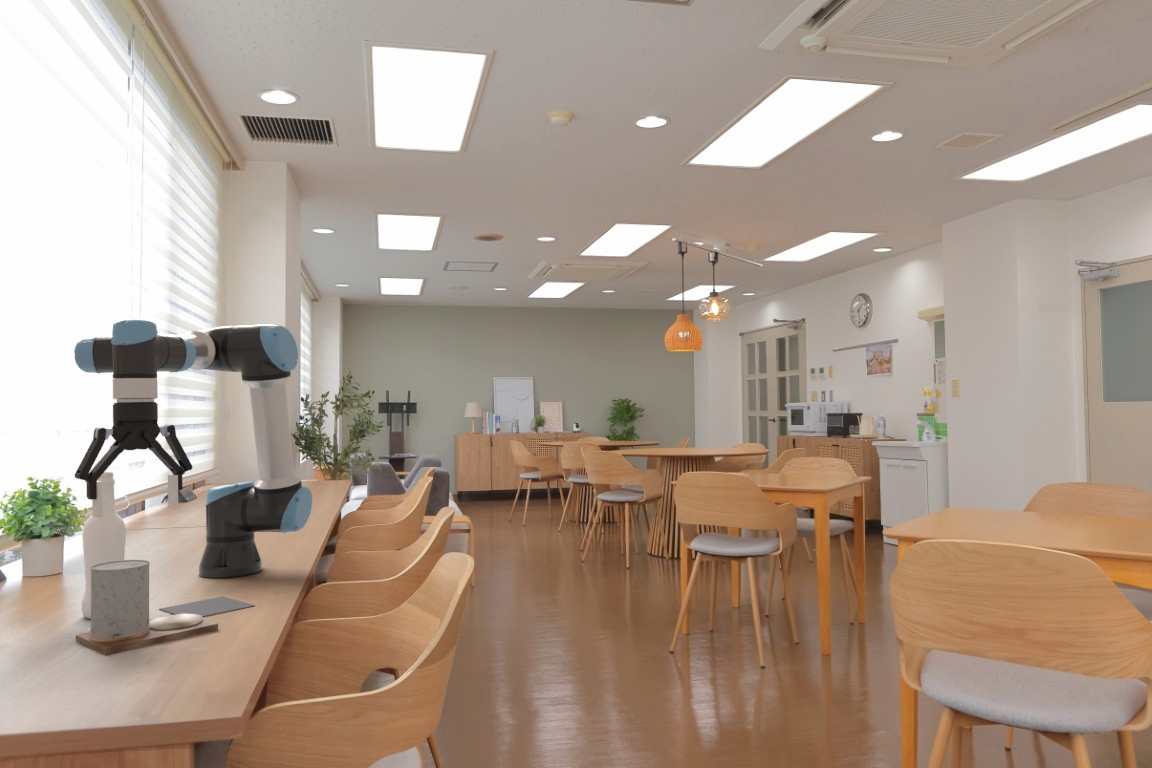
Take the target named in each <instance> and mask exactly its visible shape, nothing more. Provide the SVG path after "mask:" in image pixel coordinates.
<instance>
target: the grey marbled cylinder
mask: <svg viewBox="0 0 1152 768" xmlns="http://www.w3.org/2000/svg"><path fill="white" fill-rule="evenodd" d="M150 564H151V563H150V561H149V560H145V559H130V560H129V559H126V560H125V559H124V560H123V561H113V562H106V563H101V564H97V565H94V566H92V567H91V619H90V632H91V634H90V636H91V637H92V638H95V639H116V638H124V637H129V636H134V635H138V634H141V633H144V632H146V631H147V630H149V628H150V627H149V620H150Z"/></svg>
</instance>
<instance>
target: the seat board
mask: <svg viewBox="0 0 1152 768" xmlns="http://www.w3.org/2000/svg"><path fill="white" fill-rule="evenodd" d="M149 627H150V628H149V630H147V631H146V632H144V633H141V634H138V635H134V636H129V637H124V638H116V639H95V638H92V637H91V636H90V634H91V631H87V632H83V633H78V634H75V642H76V643H78V644H79V645H83V646H84V647H86V648H89V649H91V650H93V651H95V652H97V653H99V654H102V656H103V655H104V656H109V655H114V654H119V653H122V652H128V651H130V650H136V649H139V648H140V649H141V648H144V647H150V646H154V645H159V644H161V643H166V642H171V641H176V640H180V639H183V638H188V637H193V636H197V635H202V634H205V633H206V634H207V633H210V632H214V631H218V630H219V623H218V622H215V621H212V620H210V619H209V620H208V619H205V618H204V617H202V616H201V615H198V614H188V613H180V614H175V615H173V614H170V615H165V616H160V617H156V618H152V619H149Z"/></svg>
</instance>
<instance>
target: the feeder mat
mask: <svg viewBox="0 0 1152 768" xmlns="http://www.w3.org/2000/svg"><path fill="white" fill-rule="evenodd" d="M255 606H256V605H255V604H252V603H248V602H245V601H241V600H238V599H234V598H230V597H227V596H218V597H211V598H208V599H203V600H195V601H193V602H186V603H183V604H176V605H171V606H165V607H162V608H159V611H162V612H165V613H168V614H170V615H173V614H174V615H175V614H180V613H188V614H198V615H201V616H202V617H203V618H206V617H210V616H214V615H215V616H216V615H218V614H224V613H229V612H233V611H234V612H235V611H239V610H244V609H246V608H252V607H255Z"/></svg>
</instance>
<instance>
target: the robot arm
mask: <svg viewBox="0 0 1152 768" xmlns="http://www.w3.org/2000/svg"><path fill="white" fill-rule="evenodd" d="M157 327H158V326H157V324H156V323H155V322H154V321H152V320H146V319H121V320H116V321H115V322H114V323H113V324H112V333H111V334H112V335H94V336H85V337H82V338H81V339H79V340H78V341H77V343H76V344H75V346H74V351H73V353H74V360H75V364H76V365H77V367H78V368H79V369H80V370H81V371H83V372H85V373H94V374H101V373H102V374H103V373H104V374H106V373H109V374H110V373H112V399H114V400H116V402H114V403H113V404H112V423H113V424H112V428H105V427H95V428H94V430H93V439H92V440H91V443H90V445H89V446H88V448H87V450H86V452H85V455H84V456H83V458H82V460H81V462H80V464H79V466H78V467H77V469H76V472H75V473H74V478H75V479H78V480H82V481H85V484H86V498H87V500H90V501H91V500H92V503H91V504H92V507H91V508H92V510H91V511H92V514H91V515H92V516H93V517H97V518H100V517H103V504H102V482H100V481H97V480H98V479H99V478H100V476H101V475H102V474H103V473H104V472H105V471H107V470H108V468H109V467H110V466H111V465H112V463H113V462H114V461H115V460H116V459H117V458H118V456H119V455H120V454H122V453H123V452H124V451H135V450H149V451H151V452H152V453H153V455H155V457H156V458H158V459H159V460H160V462H162V464H163V465H164V466H165V467H166V468H167V469H168V470H169V472H171V474H167V508H169V509H179V491H183V475H184V474H185V473H186V472H188V471H192V469H193V465H192V463H191V461H190V459H189V457H188V456H187V454H186V451H185V450H184V448H183V446H182V444H181V442H180V440H179V439H178V437H177V433H176V426H175V425H173V424H164V425H163V426H160V425H159V423H158V419H159V415H158V413H159V410H158V408H159V407H158V406H159V405H158V404H159V403H157V402H156V401H155V400H157V399H158V372H159V373H160V372H170V373H177V372H178V373H179V372H185V371H187V370H190V369H191V370H194V371H195V370H196V371H197V370H207V371H208V370H209V371H217V372H218V371H219V372H228V373H229V372H230V373H231V372H232V373H240V374H241V381H242V382H243V383H244V384H246V385H247V386H248V387H249V394H250V396H249V397H250V405H251V413H252V415H251V416H252V422H253V432H254V441H255V450H256V460H257V469H258V476H259V477H258V478H257V479H256V481H255V482H254V481H246V482H245V481H244V482H238V483H233V484H232V483H230V484H224V485H220V486H215V487H210V488H209V489H208V490H207V493H206V499H205V525H206V526H205V527H206V530H205V534H206V535H205V536H206V543H205V548H204V550H203V553H202V556H201V559H200V562H199V566H198V576H199V577H203V578H209V579H210V578H213V579H215V578H222V579H223V578H233V577H241V576H247V575H251V574H256V573H258V572H260V571H262V563H263V562H262V559H261V556H260V553H259V550H258V548H257V545H256V540H255V533H282V534H285V533H292V532H295V533H296V532H299V531H301V530H302V529H303V528H304V527H305V526H306V524H307V522H308V520H309V519H310V515H311V513H312V508H313V494H312V492H311V489H310V488H309V487H307V486H303V485H302V484H303V483H302V478H301V476H299V475H298V474H297V473H295V467H294V465H295V464H294V457H293V455H294V454H293V446H292V438H291V428H290V427H291V426H290V418H289V409H288V395H287V389H286V383H287V381H289V379H290V378H291V377H292V376H291V375H292V374H291V371H293V370H294V369H296V367H297V364H298V360H299V350H298V345H297V342H296V339H295V337H294V336H293V334H292V332H290V330H289V329H288V328H286V327H285V326H282V325H279V324H278V325H275V324H254V325H253V324H252V325H235V326H234V325H226V326H218V327H214V328H208V329H201V330H200V329H199V330H190V331H188V332H186V333H185V334H166V333H165V334H164V333H159V332H158V328H157ZM160 434H161V436H162V437H164V439H165V441H166V443H167V445H168V447H169V449H170V450H171V452H172V454H173V456H174V458H175V459H176V461H175V460H174V458H173V457H172V456H171V455H170V454H169V453H168V452H167V451H166V450H165V449H164V447H163V446H162V444H160V442H159V441H158V440H157V438H158V436H159V435H160ZM110 436H111V437H112V438H113V439H114V440H115V441H114V442H113V443H112V444H111V445H110V447H109V449H108V450H107V452H106V453H105V454H104V455H103V456H102V457H101V458H100V460H99V461H98V462H97V463H96V464H95V462H96V460H97V458H98V456H99V454H100V452H101V450H102V449H103V446H104V444H105V442H106V440H109V437H110ZM94 464H95V465H94ZM93 466H94V467H93ZM92 467H93V468H92Z"/></svg>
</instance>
